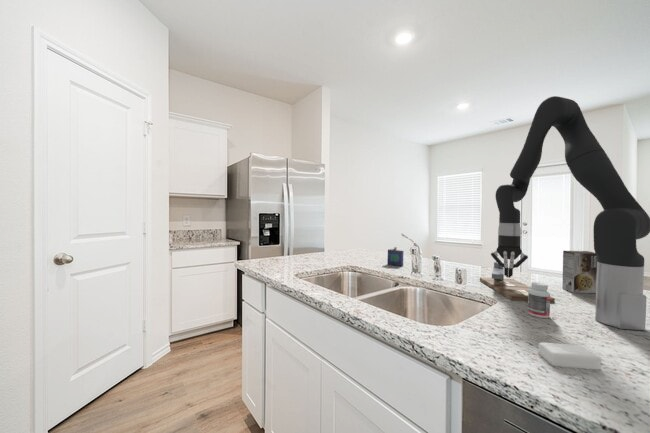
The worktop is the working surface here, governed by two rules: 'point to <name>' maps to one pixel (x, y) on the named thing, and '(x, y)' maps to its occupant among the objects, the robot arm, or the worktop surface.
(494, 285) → the label board
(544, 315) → the pill bottle
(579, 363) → the soap
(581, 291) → the coffee box
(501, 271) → the swing arm
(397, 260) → the flask
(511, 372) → the worktop surface
